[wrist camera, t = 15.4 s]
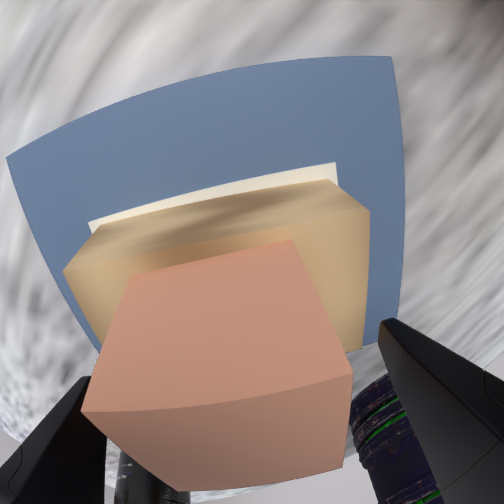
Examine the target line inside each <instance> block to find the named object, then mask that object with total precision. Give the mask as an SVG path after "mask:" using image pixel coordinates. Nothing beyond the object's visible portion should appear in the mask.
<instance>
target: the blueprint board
mask: <svg viewBox="0 0 504 504" xmlns="http://www.w3.org/2000/svg"><path fill="white" fill-rule="evenodd" d="M6 160H7V163H8V167H9V170H10V173H11V176H12V180H13V183H14V186H15V189H16V191H17V194H18V197H19V200H20V203H21V205H22V208H23V211H24V213H25V216H26V218H27V221H28V223H29V226H30V228H31V230H32V233H33V235H34V237H35V240H36V242H37V244H38V246H39V249H40V251H41V253H42V255H43V257H44V259H45V261H46V263H47V266H48V268H49V270H50V272H51V274H52V275H53V277H54V279H55V281H56V283H57V285H58V287H59V289H60V291H61V292H62V294H63V296H64V298H65V300H66V301H67V303H68V305H69V307H70V308H71V310H72V312H73V314H74V315H75V317H76V319H77V320H78V322H79V323H80V325H81V327H82V328H83V330H84V331H85V333H86V335H87V336H88V338H89V339H90V341H91V342H92V344H93V345H94V347H95V348H96V350H97V351H98V353H99V354H100V351H101V348H102V345H101V343H100V341H99V340H98V338H97V336H96V335H95V333H94V331H93V330H92V328H91V326H90V324H89V323H88V321H87V319H86V317H85V315H84V314H83V312H82V310H81V308H80V306H79V304H78V302H77V300H76V298H75V297H74V295H73V293H72V291H71V289H70V287H69V285H68V282H67V280H66V278H65V276H64V274H63V272H62V271H63V270H64V268H65V267H66V266H67V265H68V263H69V262H70V261H71V259H72V258H73V257H74V256H75V254H76V253H77V252H78V251H79V249H80V248H81V247H82V246H83V245H84V243H85V242H86V241H87V240H88V239H89V237H90V236H91V235H92V234H93V233H94V232H95V230H96V229H97V228H98V227H99V226H100V225H101V224H105V223H109V222H113V221H117V220H121V219H125V218H129V217H133V216H137V215H141V214H145V213H149V212H153V211H158V210H162V209H166V208H171V207H175V206H180V205H184V204H189V203H194V202H198V201H203V200H208V199H213V198H218V197H223V196H228V195H233V194H238V193H244V192H249V191H255V190H260V189H266V188H272V187H277V186H283V185H289V184H296V183H302V182H308V181H315V180H322V179H329V180H330V181H332V182H333V183H334V184H336V185H337V186H338V187H340V188H341V189H342V190H344V191H345V192H346V193H348V194H349V195H350V196H351V197H353V198H354V199H355V200H356V201H358V202H359V203H360V204H362V205H363V206H364V207H365V208H366V209H368V210H369V211H370V244H369V271H368V288H367V302H366V314H365V324H364V334H363V343H362V346H365V345H368V344H371V343H374V342H377V341H378V333H379V324H380V322H381V321H382V320H385V319H388V318H391V317H393V318H396V319H397V313H398V305H399V297H400V287H401V277H402V264H403V249H404V224H405V181H404V157H403V141H402V129H401V119H400V110H399V102H398V94H397V87H396V81H395V74H394V69H393V63H392V58H391V56H342V57H322V58H309V59H298V60H289V61H281V62H273V63H266V64H260V65H254V66H248V67H242V68H237V69H232V70H227V71H222V72H217V73H213V74H209V75H204V76H200V77H196V78H192V79H189V80H185V81H181V82H178V83H174V84H171V85H167V86H164V87H161V88H157V89H154V90H151V91H148V92H145V93H142V94H139V95H136V96H133V97H131V98H128V99H125V100H122V101H120V102H117V103H114V104H112V105H109V106H107V107H104V108H102V109H99V110H97V111H95V112H92V113H90V114H88V115H85V116H83V117H81V118H79V119H76V120H74V121H72V122H70V123H68V124H66V125H64V126H62V127H60V128H58V129H56V130H54V131H52V132H50V133H48V134H46V135H44V136H42V137H40V138H38V139H37V140H35V141H33V142H31V143H29V144H28V145H26V146H24V147H22V148H21V149H19V150H17V151H16V152H14V153H12V154H11V155H9V156H7V157H6Z"/></svg>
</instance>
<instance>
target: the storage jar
mask: <svg viewBox="0 0 504 504" xmlns="http://www.w3.org/2000/svg"><path fill="white" fill-rule="evenodd" d="M349 425H350V426H351V427H352V429H351V430H352V435H353V437H354V438H353V442H354V445H355V448H356V451H357V452H358V453H359V461H360V462H361V463H362V466H363V468H365V469H367V470H368V473H369V476H370V479H371V482H372V485H373V488H374V490H375V494H376V497H377V499H378V504H445V503H444V500H443V498H442V495H441V492H440V490H439V487H438V485H437V482H436V480H435V477H434V475H433V473H432V470H431V468H430V465H429V463H428V461H427V458H426V456H425V454H424V452H423V449H422V447H421V445H420V443H419V440H418V438H417V436H416V434H415V432H414V429H413V427H412V425H411V423H410V421H409V419H408V417H407V414H406V412H405V410H404V408H403V406H402V404H401V402H400V400H399V398H398V396H397V394H396V392H395V389H394V387H393V384H392V382H391V379H390V376H389V373H387V374H386V375H384V376H382V377H381V378H379V379H377V380H376V381H374V382H373V383H372V384H370V385H369V386H368V387H366V388H365V389H364V390H363V391H362V392H361V393H359V394H358V395H357V396H356V398H355V399H354V400H353V401H352V402H351V407H350V416H349Z"/></svg>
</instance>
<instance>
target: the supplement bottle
mask: <svg viewBox="0 0 504 504" xmlns="http://www.w3.org/2000/svg"><path fill="white" fill-rule="evenodd" d="M114 504H190V491H177V490H175V489H174V488H172V487H171V486H169V485H168V484H166V483H165V482H163V481H162V480H160V479H159V478H158V477H156V476H155V475H153V474H152V473H151V472H149V471H148V470H147V469H145V468H144V467H143V466H141V465H140V464H139V463H138V462H136V461H135V460H134V459H133V458H131V457H130V456H129V455H128V454H126V453H125V452H124V451H123V450H122V449H121V453H120V459H119V466H118V473H117V480H116V488H115V496H114Z"/></svg>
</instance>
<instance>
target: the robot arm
mask: <svg viewBox="0 0 504 504" xmlns="http://www.w3.org/2000/svg"><path fill="white" fill-rule="evenodd" d="M378 346H379V349H380V351H381V354H382V357H383V359H384V362H385V365H386V368H387V370H388V373H389V376H390V379H391V382H392V384H393V387H394V389H395V392H396V394H397V396H398V398H399V400H400V402H401V404H402V406H403V408H404V410H405V412H406V414H407V417H408V419H409V421H410V423H411V425H412V427H413V429H414V432H415V434H416V436H417V438H418V440H419V443H420V445H421V447H422V449H423V452H424V454H425V456H426V458H427V461H428V463H429V465H430V468H431V470H432V473H433V475H434V477H435V480H436V482H437V485H438V487H439V490H440V492H441V495H442V498H443V500H444V503H445V504H504V381H503V380H501V379H499V378H498V377H496V376H494V375H492V374H491V373H489V372H487V371H486V370H484V371H483V369H482V368H480V367H479V366H477V365H475V364H473V363H472V362H470V361H468V360H467V359H465V358H463V357H462V356H460V355H458V354H456V353H455V352H453V351H451V350H449V349H448V348H446V347H444V346H443V345H441V344H439V343H437V342H436V341H434V340H432V339H431V338H429V337H427V336H425V335H424V334H422V333H420V332H418V331H417V330H415V329H413V328H411V327H410V326H408V325H406V324H404V323H403V322H401V321H399V320H397V319H396V318H393V317H391V318H388V319H385V320H382V321H381V322H380V324H379V333H378ZM91 377H92V376H83V377H81V378H80V379H79V380H78V381H77V382H76V383H75V384H74V386H73V387H72V388H71V389H70V390H69V391H68V392H67V393H66V394H65V395H64V397H63V398H62V399H61V400H60V401H59V402H58V403H57V404H56V405H55V406H54V408H53V409H52V410H51V411H50V412H49V413H48V414H47V415H46V417H45V418H44V419H43V420H42V421H41V422H40V423H39V425H38V426H37V427H36V428H35V429H34V430H33V431H32V433H31V434H30V435H29V436H28V437H27V438H26V439H25V441H24V442H23V443H22V445H20V446H19V448H18V449H17V450H16V451H15V452H14V453H13V455H12V456H11V457H10V458H9V459H8V460H7V461H6V462H5V463H4V464H3V465H2V466H1V467H0V504H104V487H105V461H106V446H107V436H106V435H105V434H103V433H102V432H101V431H100V430H99V429H98V428H97V427H96V426H95V425H94V424H93V423H92V422H91V421H90V420H89V419H88V418H87V417H86V416H85V415H84V414H83V413H82V412H81V409H82V405H83V402H84V399H85V395H86V392H87V389H88V386H89V383H90V380H91Z"/></svg>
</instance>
